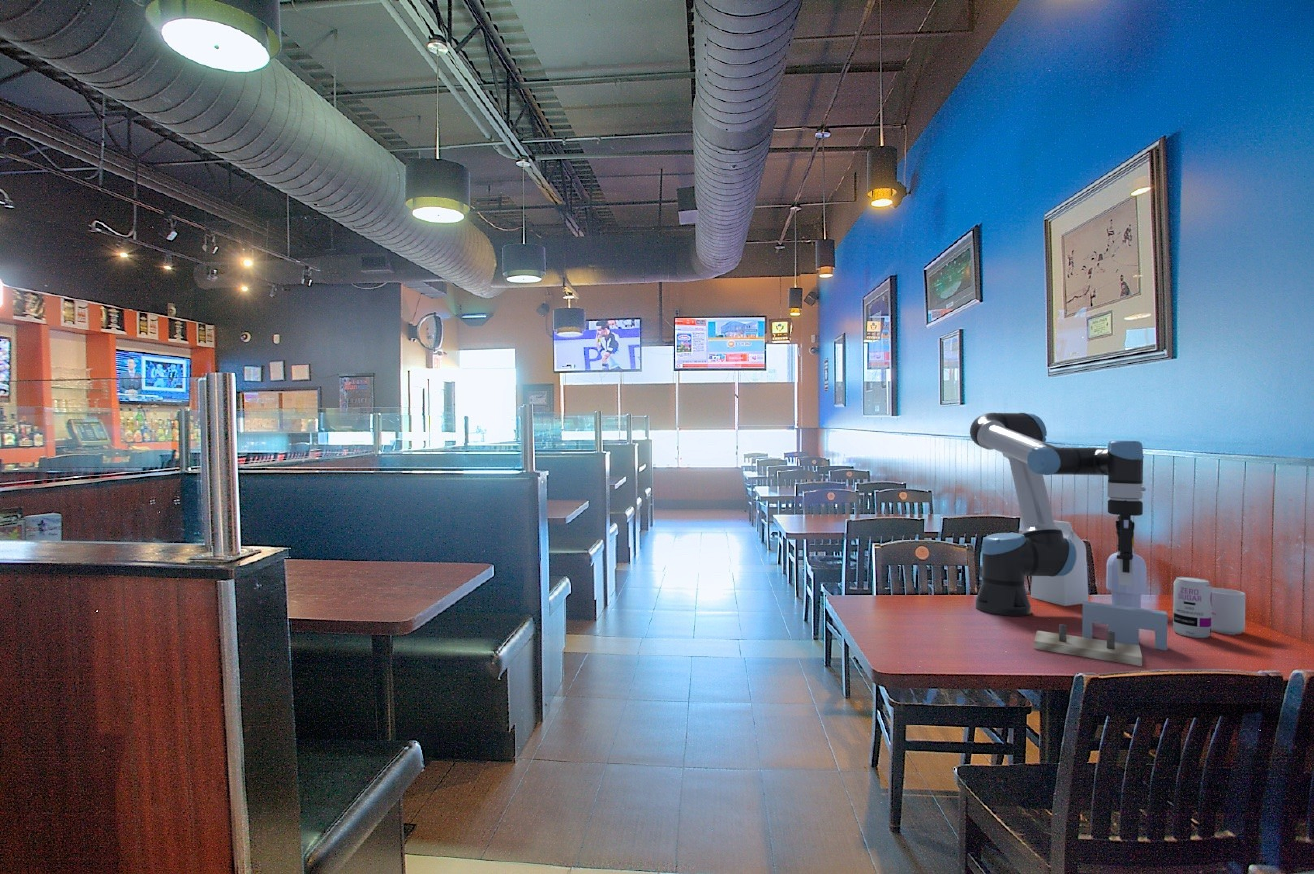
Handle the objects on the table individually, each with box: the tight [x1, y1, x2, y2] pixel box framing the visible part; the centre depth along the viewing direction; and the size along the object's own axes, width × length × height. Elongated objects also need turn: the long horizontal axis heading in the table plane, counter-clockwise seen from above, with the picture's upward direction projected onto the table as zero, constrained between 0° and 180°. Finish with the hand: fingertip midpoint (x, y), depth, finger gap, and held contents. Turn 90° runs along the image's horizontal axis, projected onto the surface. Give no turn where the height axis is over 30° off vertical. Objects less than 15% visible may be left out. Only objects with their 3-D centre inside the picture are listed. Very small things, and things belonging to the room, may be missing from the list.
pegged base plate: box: [1033, 623, 1143, 667], centre depth 166 cm, size 22×11×6 cm, turn 57°
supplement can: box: [1172, 576, 1213, 639], centre depth 182 cm, size 8×8×15 cm
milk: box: [1030, 519, 1090, 607], centre depth 220 cm, size 12×12×26 cm
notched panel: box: [1081, 601, 1168, 651], centre depth 174 cm, size 18×4×9 cm, turn 57°
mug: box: [1211, 587, 1246, 636], centre depth 188 cm, size 12×9×11 cm
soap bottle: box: [1105, 530, 1148, 608], centre depth 209 cm, size 10×10×24 cm
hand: (1124, 580), depth 174 cm, fingers open, 13 cm apart
